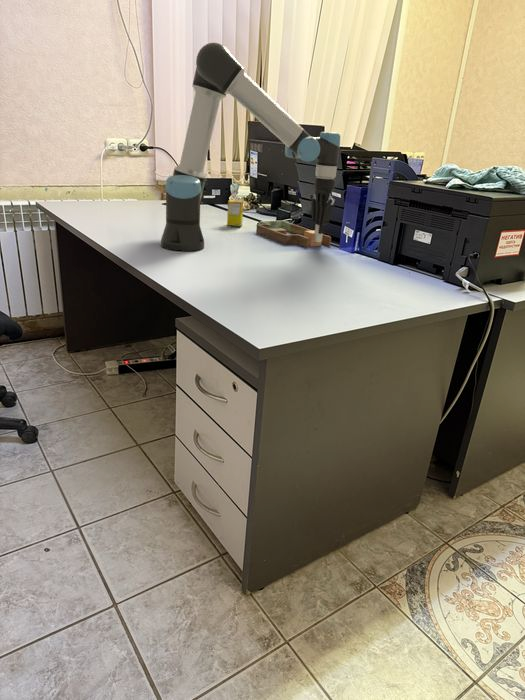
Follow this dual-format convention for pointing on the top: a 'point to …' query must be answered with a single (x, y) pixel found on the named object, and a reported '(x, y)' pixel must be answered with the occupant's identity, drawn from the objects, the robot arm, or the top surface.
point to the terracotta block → (311, 238)
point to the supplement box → (235, 213)
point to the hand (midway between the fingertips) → (317, 241)
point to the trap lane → (280, 228)
